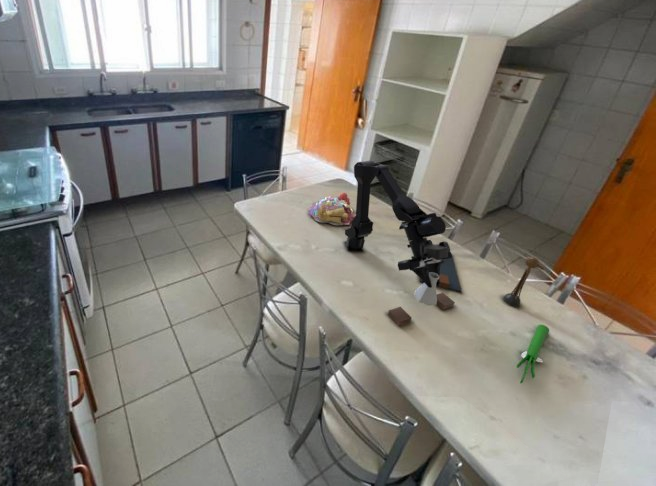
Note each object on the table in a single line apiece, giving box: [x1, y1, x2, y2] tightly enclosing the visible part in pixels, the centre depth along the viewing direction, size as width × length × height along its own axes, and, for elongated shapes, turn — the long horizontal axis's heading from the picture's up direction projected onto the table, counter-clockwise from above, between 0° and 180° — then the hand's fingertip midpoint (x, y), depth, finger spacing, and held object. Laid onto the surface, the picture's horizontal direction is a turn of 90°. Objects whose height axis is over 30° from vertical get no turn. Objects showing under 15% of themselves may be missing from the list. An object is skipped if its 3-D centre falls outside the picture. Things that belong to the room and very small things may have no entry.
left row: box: [387, 292, 455, 327], centre depth 113 cm, size 5×25×2 cm, turn 112°
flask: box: [414, 272, 439, 306], centre depth 108 cm, size 7×7×10 cm
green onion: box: [516, 323, 550, 384], centre depth 98 cm, size 5×3×30 cm
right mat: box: [418, 256, 462, 293], centre depth 133 cm, size 14×25×3 cm, turn 159°
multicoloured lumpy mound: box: [308, 191, 356, 226], centre depth 167 cm, size 25×24×9 cm
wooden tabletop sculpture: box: [503, 256, 546, 308], centre depth 114 cm, size 6×5×20 cm
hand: (434, 286), depth 107 cm, fingers closed on flask, 3 cm apart
